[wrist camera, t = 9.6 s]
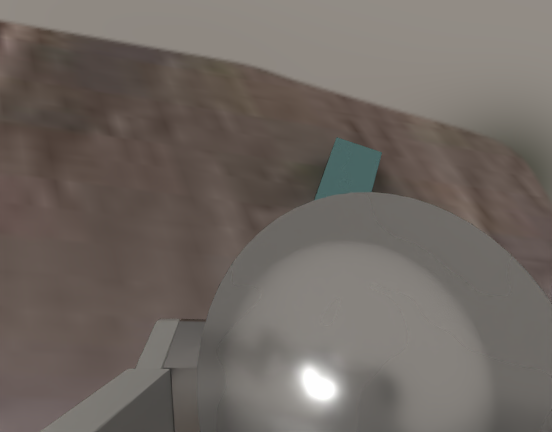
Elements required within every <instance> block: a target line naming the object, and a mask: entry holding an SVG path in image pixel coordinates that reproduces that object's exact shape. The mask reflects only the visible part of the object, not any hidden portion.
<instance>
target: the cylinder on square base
mask: <svg viewBox="0 0 552 432" xmlns="http://www.w3.org/2000/svg"><path fill="white" fill-rule="evenodd" d="M196 396H197V407H198V418H199V427H200V431H201V432H552V304H551V302H550V301H549V299H548V298H547V296H546V295H545V293H544V292H543V290H542V289H541V288H540V287H539V285H538V284H537V283H536V282H535V281H534V279H533V278H532V277H531V276H530V274H529V273H528V272H527V271H526V270H525V269H524V268H523V267H522V266H521V265H520V264H519V263H518V262H517V261H516V260H515V259H514V257H513V256H512V255H511V254H510V253H508V252H507V251H506V250H505V249H504V248H503V247H501V246H500V245H499V244H498V243H497V242H495V241H494V240H493V239H492V238H491V237H489V236H488V235H486V234H485V233H484V232H482V231H481V230H479V229H478V228H476V227H475V226H474V225H472V224H470V223H469V222H467V221H465V220H463V219H461V218H460V217H458V216H456V215H454V214H453V213H450V212H448V211H446V210H444V209H441V208H439V207H437V206H434V205H432V204H429V203H426V202H423V201H420V200H416V199H413V198H409V197H404V196H399V195H395V194H387V193H376V192H355V193H346V194H339V195H332V196H328V197H325V198H321V199H317V200H314V201H311V202H309V203H306V204H304V205H302V206H299V207H297V208H295V209H293V210H291V211H289V212H288V213H286V214H284V215H282V216H281V217H279V218H277V219H276V220H275V221H273V222H272V223H271V224H269V225H268V226H267V227H265V228H264V229H263V230H262V231H260V232H259V233H258V234H257V235H256V236H255V237H254V238H253V239H252V240H251V241H250V242H249V243H248V244H247V245H246V246H245V247H244V249H243V250H242V251H241V253H240V254H239V255H238V257H237V258H236V259H235V261H234V262H233V263H232V264H231V266H230V268H229V269H228V271H227V273H226V275H225V276H224V278H223V280H222V282H221V283H220V285H219V287H218V290H217V292H216V294H215V297H214V299H213V301H212V304H211V306H210V309H209V312H208V315H207V319H206V323H205V326H204V330H203V333H202V337H201V343H200V350H199V357H198V363H197V389H196Z"/></svg>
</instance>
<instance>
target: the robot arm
mask: <svg viewBox="0 0 552 432" xmlns="http://www.w3.org/2000/svg"><path fill="white" fill-rule="evenodd" d="M205 323H206V320H204V319H181V320H180V319H159V320H158V321H156V323H155V325H154V327H153V330H152V332H151V334H150V336H149V338H148V341H147V343H146V345H145V347H144V349H143V352H142V354H141V356H140V358H139V361H138V363H137V365H136V367H135V369H127V370H126V371H124V372H123V373H121V374H120V375H119V376H117V377H116V378H114V379H113V380H112V381H110V382H109V383H107V384H106V385H105V386H103V387H102V388H100V389H99V390H97V391H96V392H95V393H93V394H92V395H90V396H89V397H88V398H86V399H85V400H83V401H82V402H81V403H79V404H78V405H76V406H75V407H74V408H72V409H71V410H69V411H68V412H67V413H65V414H64V415H62V416H61V417H60V418H58V419H57V420H55V421H54V422H53V423H51V424H50V425H48V426H47V427H46V428H44V429H43V430H41V431H40V432H201V431H200V427H199V418H198V407H197V396H196V389H197V363H198V357H199V350H200V343H201V337H202V333H203V330H204V326H205Z"/></svg>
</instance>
